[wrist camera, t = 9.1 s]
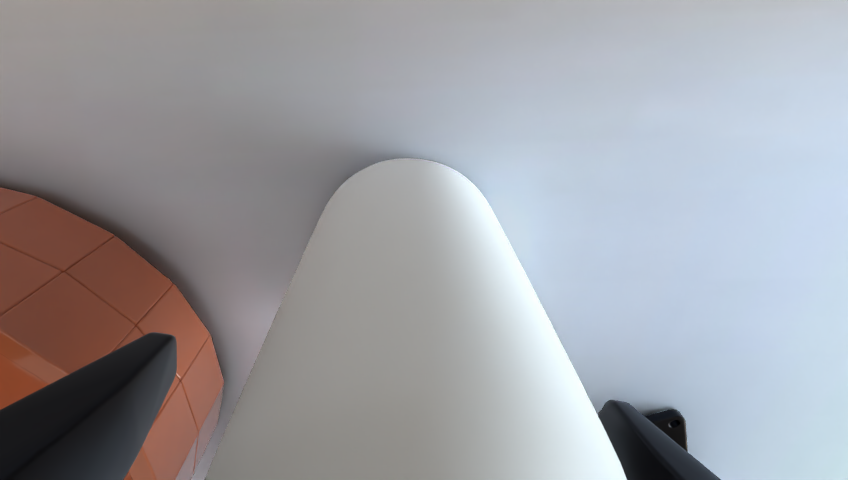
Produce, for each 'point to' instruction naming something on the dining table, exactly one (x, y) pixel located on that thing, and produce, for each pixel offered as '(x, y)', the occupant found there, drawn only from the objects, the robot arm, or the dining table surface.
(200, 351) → the bowl
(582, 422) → the can
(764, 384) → the dining table surface
